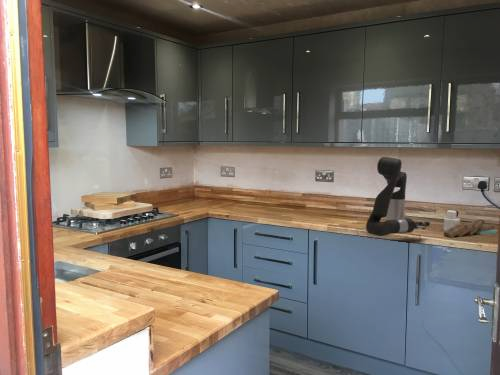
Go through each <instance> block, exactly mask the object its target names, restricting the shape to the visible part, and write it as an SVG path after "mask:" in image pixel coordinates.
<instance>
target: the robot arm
mask: <svg viewBox="0 0 500 375" xmlns="http://www.w3.org/2000/svg"><path fill="white" fill-rule="evenodd" d="M402 165H403V164H402V160H401V159H400V158H396V157H389V156H382V157H380V158H379V160H378V162H377V167H376V168H377V169H376V170H377V173H378V174H379V175H382V177H383V178H384V179H385V181H386V184H387V185H386V186H385V187H384V188H383V189H382V190H381V191H380V192H379V193H378V194H377V196H376V197H375V200H374V203H373V208H372V212H371V214H370V215H369V217H368V219H367V221H366V223H365V229H366V232H367V233H368V234H370V235H373V236H377V237H378V236H379V237H382V236H383V237H384V236H388V235H393V234H410V233H412V232H413V231H414V230H419V229H421V230H426V229H427V227H430V225H431V224H430V221H419V220H413V219H412V218H410V217H406V218H405V209H406V208H405V207H406V206H405V205H406V189H407V177H408V176H407V172H405V171H401V169H402ZM396 188H399V190H397V191H395V189H396ZM385 217H386V220H384V221H381V219H382V218H385Z"/></svg>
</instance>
